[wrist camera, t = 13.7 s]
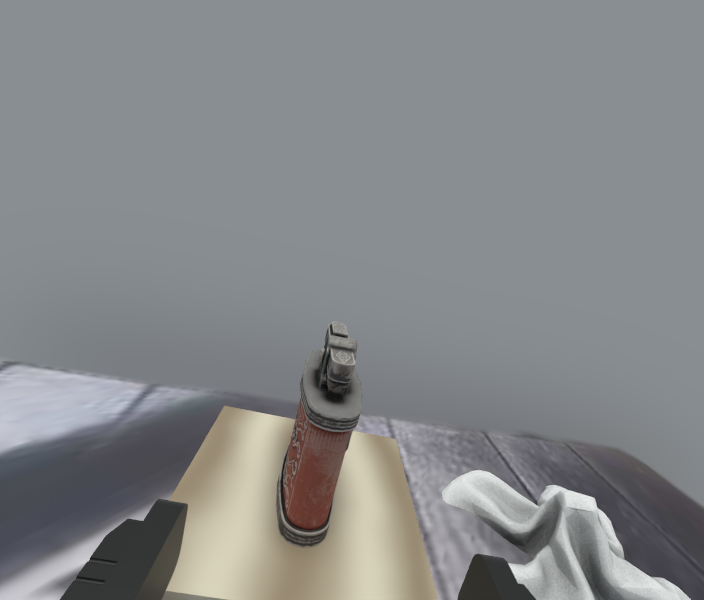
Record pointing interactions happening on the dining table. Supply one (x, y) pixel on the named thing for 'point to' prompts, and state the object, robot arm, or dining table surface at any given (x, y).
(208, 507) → the base block
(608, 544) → the cloth
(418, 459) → the dining table surface
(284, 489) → the lighter
